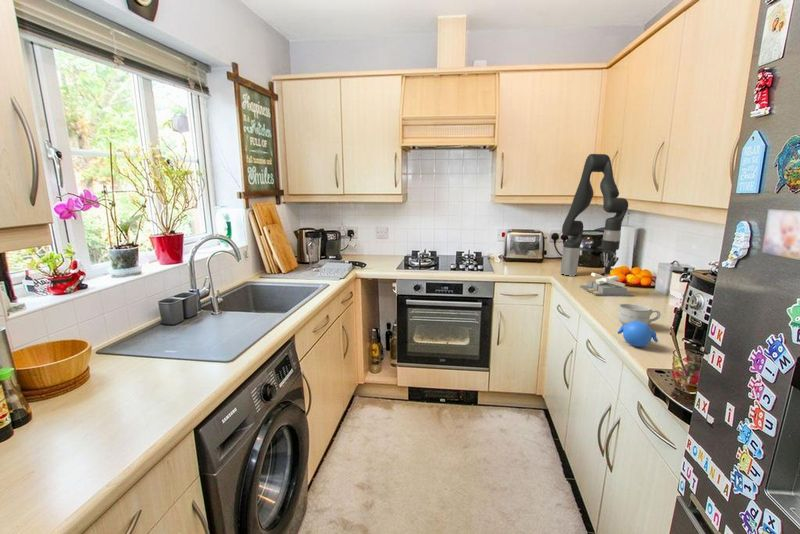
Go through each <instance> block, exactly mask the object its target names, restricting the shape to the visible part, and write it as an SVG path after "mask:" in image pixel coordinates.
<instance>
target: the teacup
mask: <svg viewBox="0 0 800 534" xmlns="http://www.w3.org/2000/svg"><path fill="white" fill-rule="evenodd" d="M653 313H656V314H657V315H656V316H654V318H650V317H651V316H652V314H653ZM661 316H662V315H661V312H660V311H659V310H658V309H656V308H655V309H652V308H651V307H649V306H646V305H641V304H635V303H619V305H618V318H617V319H618V321H619V323H621V324H622V326H623V325H627V324H628V323H630V322H633V321H640V322H643V323H645V324H647V325H648V324H651V323H652V322H654V321H655V322H656V321H657V320H659V319H660V318H661Z"/></svg>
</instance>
